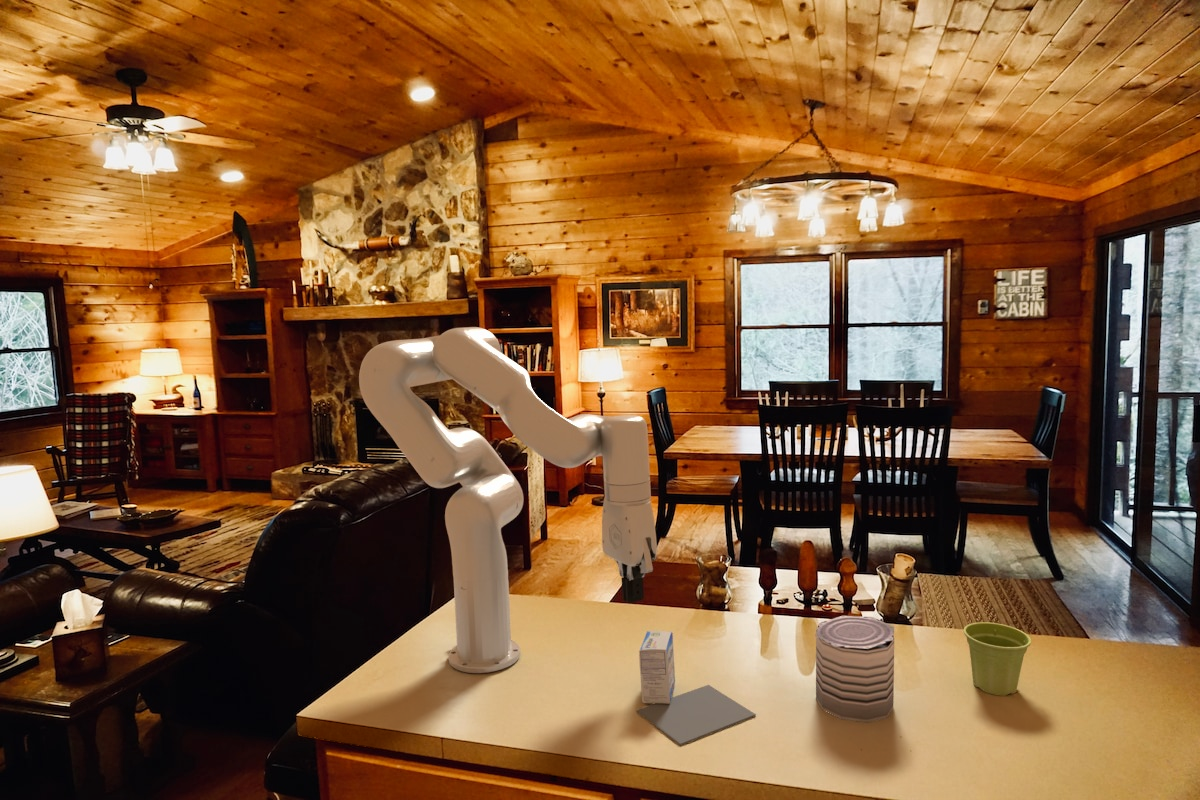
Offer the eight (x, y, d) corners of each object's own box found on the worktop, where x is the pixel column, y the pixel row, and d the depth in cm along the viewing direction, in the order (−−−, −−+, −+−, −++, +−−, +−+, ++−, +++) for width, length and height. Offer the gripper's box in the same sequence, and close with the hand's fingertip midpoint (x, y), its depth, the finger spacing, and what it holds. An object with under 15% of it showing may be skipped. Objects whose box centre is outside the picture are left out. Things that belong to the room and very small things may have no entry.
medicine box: (670, 705, 116) (667, 650, 116) (641, 704, 117) (638, 649, 117) (675, 682, 124) (673, 630, 123) (648, 681, 125) (646, 630, 124)
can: (895, 728, 109) (897, 648, 108) (813, 716, 113) (813, 639, 111) (892, 690, 120) (893, 617, 118) (817, 681, 123) (817, 610, 122)
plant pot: (1026, 678, 122) (1028, 627, 121) (1032, 706, 114) (1033, 651, 113) (962, 669, 126) (963, 618, 125) (962, 695, 118) (963, 641, 117)
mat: (636, 711, 115) (636, 710, 115) (708, 686, 123) (708, 684, 123) (680, 745, 106) (680, 743, 106) (755, 716, 113) (755, 714, 113)
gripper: (584, 487, 128) (591, 592, 130) (633, 503, 116) (639, 619, 117) (622, 481, 132) (627, 583, 134) (673, 495, 119) (678, 608, 121)
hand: (633, 599), depth 126 cm, fingers closed
